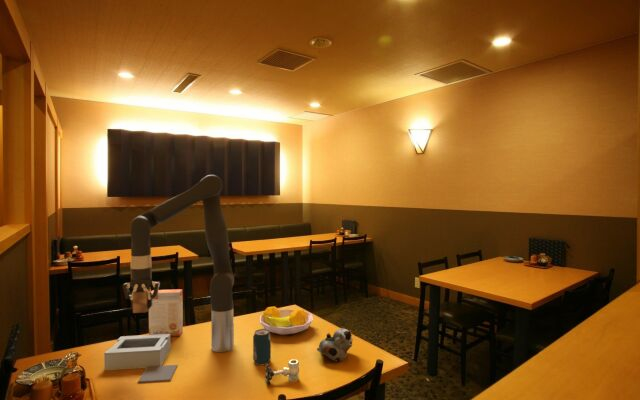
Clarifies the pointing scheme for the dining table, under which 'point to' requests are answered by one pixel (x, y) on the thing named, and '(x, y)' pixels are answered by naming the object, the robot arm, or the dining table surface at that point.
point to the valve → (284, 371)
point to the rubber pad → (158, 373)
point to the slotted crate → (137, 352)
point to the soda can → (261, 346)
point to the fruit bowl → (285, 320)
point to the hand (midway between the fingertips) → (141, 308)
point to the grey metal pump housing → (336, 345)
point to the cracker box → (166, 313)
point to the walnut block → (140, 302)
